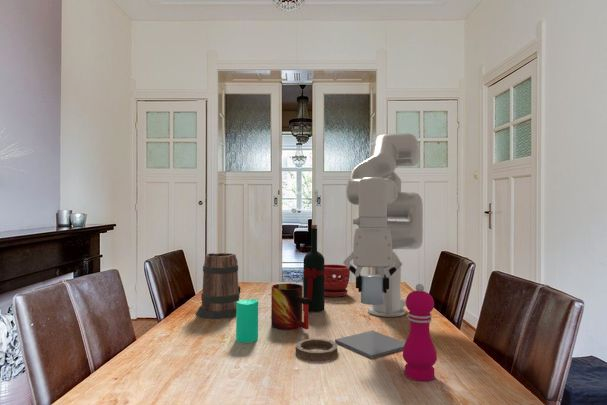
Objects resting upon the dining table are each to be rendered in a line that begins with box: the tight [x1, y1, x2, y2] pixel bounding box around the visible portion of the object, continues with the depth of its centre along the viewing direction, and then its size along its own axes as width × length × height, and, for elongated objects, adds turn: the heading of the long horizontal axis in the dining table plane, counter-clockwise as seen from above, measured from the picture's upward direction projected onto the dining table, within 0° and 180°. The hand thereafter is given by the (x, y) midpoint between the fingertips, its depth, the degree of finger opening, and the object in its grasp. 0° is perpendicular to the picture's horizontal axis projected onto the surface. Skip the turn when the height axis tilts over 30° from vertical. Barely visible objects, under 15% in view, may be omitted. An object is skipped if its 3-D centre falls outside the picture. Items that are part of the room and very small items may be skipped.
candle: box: [235, 295, 259, 344], centre depth 112 cm, size 6×6×12 cm
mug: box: [270, 282, 310, 331], centre depth 124 cm, size 10×14×12 cm
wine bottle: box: [302, 224, 326, 313], centre depth 143 cm, size 8×10×30 cm
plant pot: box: [324, 264, 351, 298], centre depth 168 cm, size 13×13×12 cm
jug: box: [360, 274, 384, 306], centre depth 110 cm, size 10×6×7 cm, turn 7°
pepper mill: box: [402, 283, 438, 382], centre depth 89 cm, size 7×7×20 cm
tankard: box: [194, 252, 241, 320], centre depth 143 cm, size 24×17×20 cm
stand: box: [295, 337, 338, 362], centre depth 102 cm, size 10×10×2 cm
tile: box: [334, 330, 406, 360], centre depth 108 cm, size 14×14×1 cm
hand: (372, 290), depth 108 cm, fingers closed on jug, 6 cm apart
